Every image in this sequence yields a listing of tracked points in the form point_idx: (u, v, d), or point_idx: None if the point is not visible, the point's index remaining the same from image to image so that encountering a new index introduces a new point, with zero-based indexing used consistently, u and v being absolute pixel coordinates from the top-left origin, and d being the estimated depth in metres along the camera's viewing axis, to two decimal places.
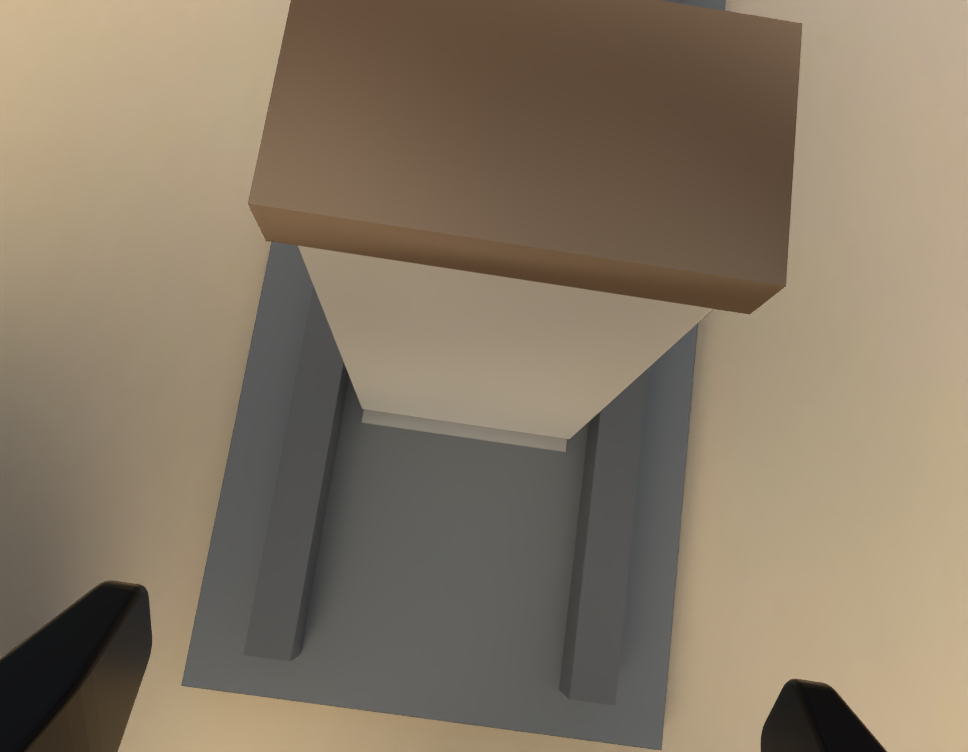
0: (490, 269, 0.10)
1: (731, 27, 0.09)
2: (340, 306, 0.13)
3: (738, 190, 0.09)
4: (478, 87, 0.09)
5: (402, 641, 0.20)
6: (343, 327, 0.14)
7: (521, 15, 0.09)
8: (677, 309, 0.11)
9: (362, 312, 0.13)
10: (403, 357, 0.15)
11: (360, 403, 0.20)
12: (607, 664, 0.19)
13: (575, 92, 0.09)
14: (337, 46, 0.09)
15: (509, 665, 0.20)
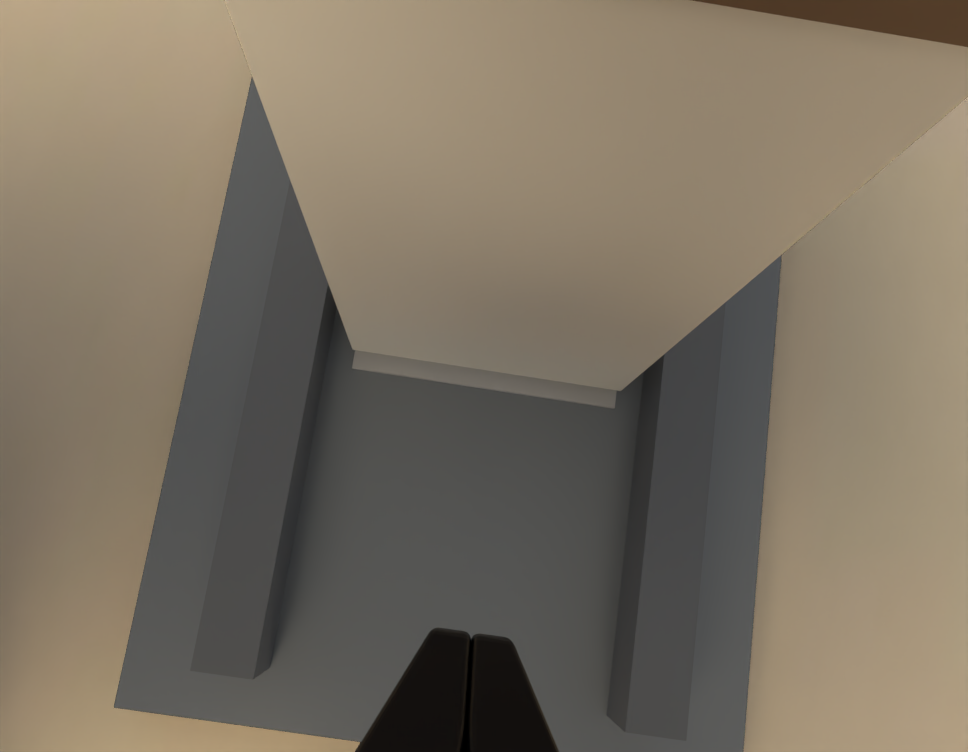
0: None
1: None
2: (304, 137, 0.08)
3: None
4: None
5: (402, 651, 0.16)
6: (314, 188, 0.09)
7: None
8: (904, 96, 0.06)
9: (341, 148, 0.08)
10: (406, 250, 0.10)
11: (349, 340, 0.15)
12: (675, 685, 0.14)
13: None
14: None
15: (542, 683, 0.16)
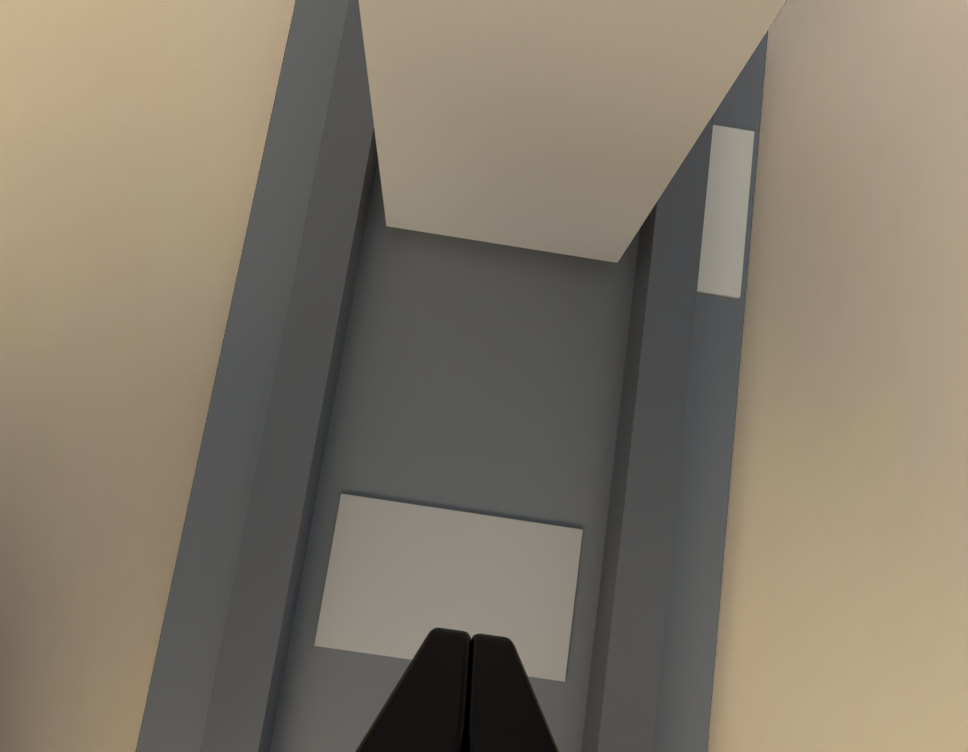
0: None
1: None
2: None
3: None
4: None
5: None
6: (377, 23, 0.12)
7: None
8: None
9: None
10: (444, 90, 0.13)
11: (385, 213, 0.18)
12: None
13: None
14: None
15: None
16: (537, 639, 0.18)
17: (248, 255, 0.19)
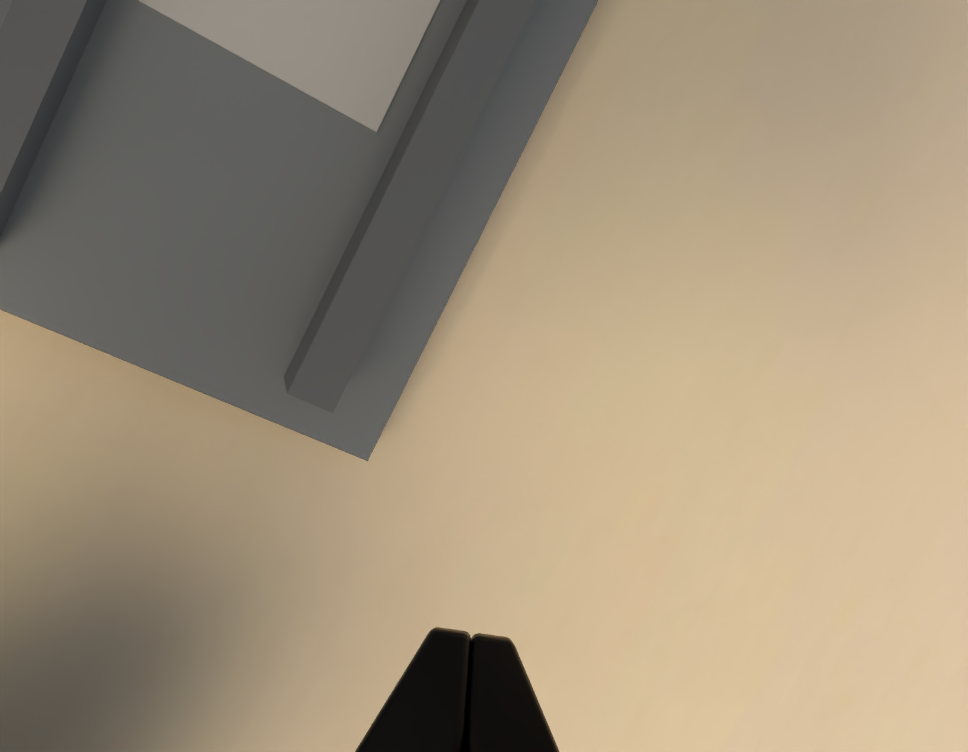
0: None
1: None
2: None
3: None
4: None
5: (122, 275, 0.18)
6: None
7: None
8: None
9: None
10: None
11: None
12: (339, 372, 0.18)
13: None
14: None
15: (238, 337, 0.18)
16: (363, 84, 0.18)
17: None
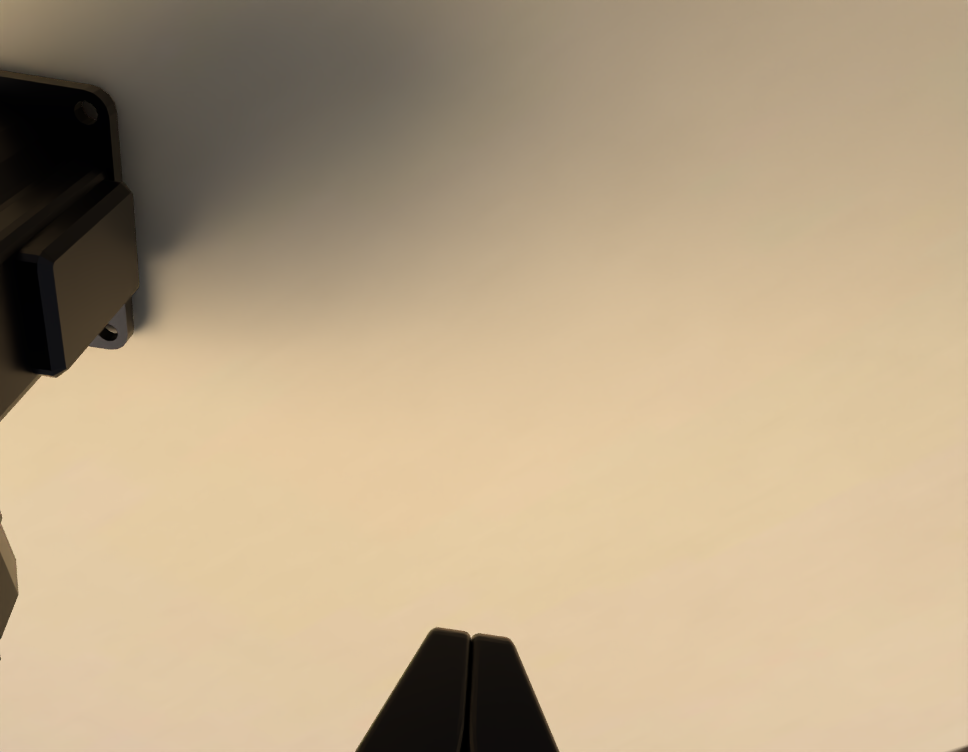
0: None
1: None
2: None
3: None
4: None
5: None
6: None
7: None
8: None
9: None
10: None
11: None
12: None
13: None
14: None
15: None
16: None
17: None
